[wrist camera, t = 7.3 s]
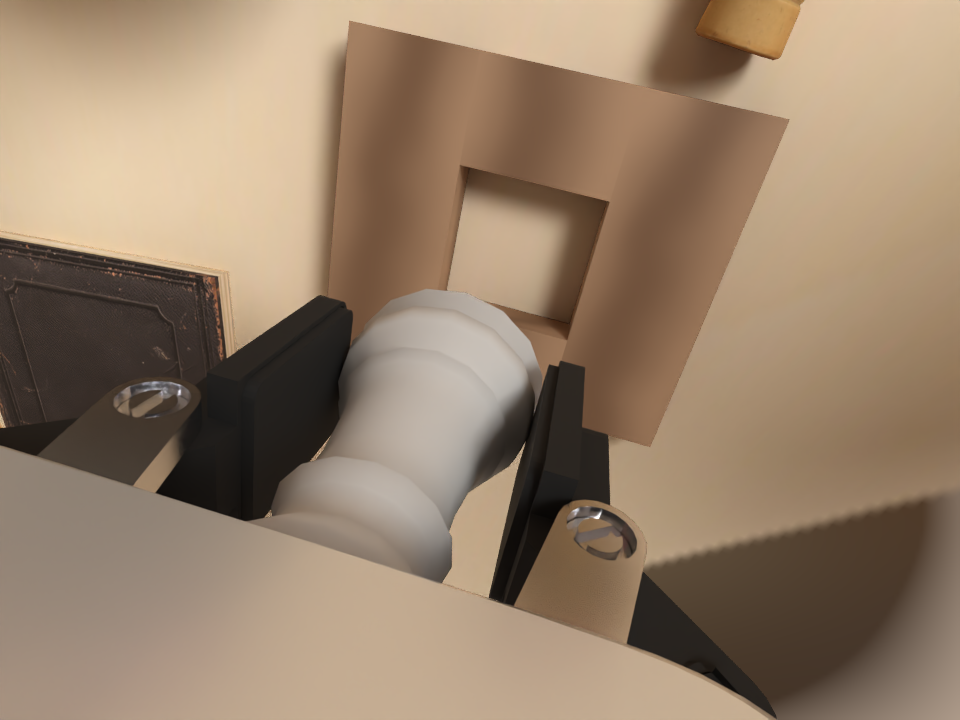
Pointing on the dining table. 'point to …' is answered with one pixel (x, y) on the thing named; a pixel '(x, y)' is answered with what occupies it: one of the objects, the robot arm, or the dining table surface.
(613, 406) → the board
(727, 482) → the dining table surface
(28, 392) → the hardcover book
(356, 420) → the rook chess piece
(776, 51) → the kendama
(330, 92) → the dining table surface
